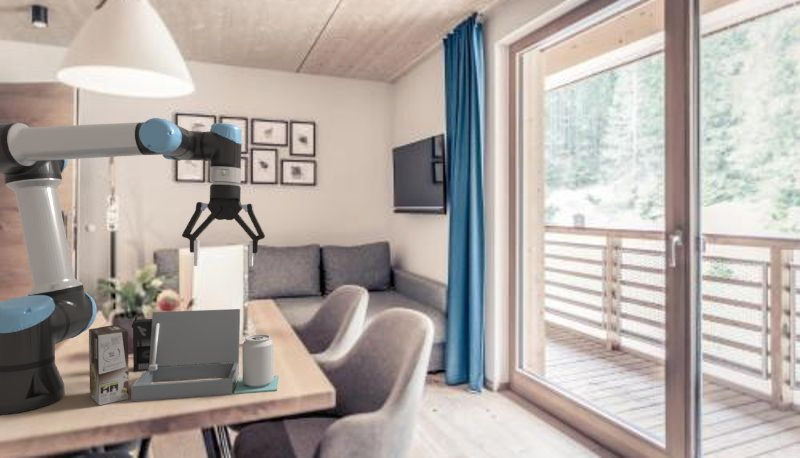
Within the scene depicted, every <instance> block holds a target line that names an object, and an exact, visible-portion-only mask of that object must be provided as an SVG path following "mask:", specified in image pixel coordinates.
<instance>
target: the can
mask: <svg viewBox="0 0 800 458" xmlns="http://www.w3.org/2000/svg"><path fill="white" fill-rule="evenodd" d="M241 348H242V354H241V355H242V378H243V383H244V384H245V385H246V386H248V387H252V388H258V387H264V386H267V385H269V384H270V382H271V381H272V380H273V376H274V341H273V340H272V339H271V335H270V334H263V333H260V334H259V333H258V334H251V335H247V336H246V337H245V338H244V341H243V343H242V347H241Z"/></svg>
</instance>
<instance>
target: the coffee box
mask: <svg viewBox="0 0 800 458" xmlns="http://www.w3.org/2000/svg"><path fill="white" fill-rule="evenodd" d="M88 357H89V360H88V362H89V394H90V397H91V399H93V400H94V401H95V402H96V404H98V406H102V405H107V404H111V403H116V402H120V401H125V400H129V398H130V397H129V396H130V395H129V394H130V393H129V392H130V391H129V390H130V389H129V388H130V387H129V385H130V384H129V383H130V380H129V379H130V378H129V376H130V375H129V330H128V329H126V328H124V327H123V326H120V325H119V324H111V325H106V326H100V327H96V328H88Z"/></svg>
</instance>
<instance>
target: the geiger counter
mask: <svg viewBox="0 0 800 458" xmlns="http://www.w3.org/2000/svg"><path fill="white" fill-rule="evenodd" d="M131 328H132V344H133V345H132V349H133V352H132V357H133V359H132V360H133V361H132V362H133V363H132V364H133V372H134V373H136V372H146V370H147V369H148V368H149V362H150V346H151V331H152V318H144V319H142V318H141V319H140V318H138V314H136V315H135V316H134V320H133V321H132V324H131ZM158 367H159V366H158Z"/></svg>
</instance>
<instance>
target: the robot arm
mask: <svg viewBox="0 0 800 458" xmlns="http://www.w3.org/2000/svg"><path fill="white" fill-rule="evenodd" d="M242 146H243V143H242V130H241V128H240V127H239V126H238V125H236V124H232V123H225V122H224V123H223V122H221V123H217V122H216V123H212V124H211V126H210V129H209V131H197V130H188V129H187V128H184V127H182V126H180V125H177V124H176V123H174V122H173V121H170V120H167V119H165V118H159V117H152V118H149V119H148V120H146V121H143V122H123V123H103V124H102V123H100V124H99V123H97V124H95V123H94V124H78V125H77V124H75V125H55V126H54V125H53V126H32V127H31V126H29V125H27V124H25V123H22V122H16V123H14V122H12V123H0V174H2V175H3V179H4V183H5V186H6V187H7V188H8V189H9V190H12V191H13V192H14V193H15V198H16V204H17V209H18V213H19V219H20V223H21V228H22V233H23V239H24V244H25V247H26V248H25V249H26V253H27V254H26V255H27V258H28V263H29V268H30V274H31V279H32V283H33V287H32V288H31V289H30V290H29V292H28V293H27V295H24V296H20V297H14V298H10V299H6V300H3V301H0V415H7V414H15V413H21V412H27V411H31V410H35V409H36V410H37V409H39V408H43V407H45V406H48V405H51V404H53V403H56V402H57V401H59V400H61V399H62V398H63V397H64V396H65V393H66V391H65V382H64V381H63V379H62V376H61V373H60V371H59V369H58V366H57V365H56V350H55V349H56V348H55V347H56V345H57V344H60V343H62V342H65V341H66V340H69V339H73V338H75V337H78V336H80V335H81V334H82V333H84V332H86V331H87V330H89V329H90V327H91V326H92V325H93V324H94V322H95V319H96V318H97V312H98V310H97V309H98V308H97V303H96V302H95V301H96V300H95V299H94V298H93V297H92V296H91V295H89V293H87V292H85V288H84V284H83V282H82V281H80V280H78V279H76V278H75V275H74V274H75V273H74V270H73V264H72V261H71V260H72V259H71V254H70V249H69V244H68V239H67V234H66V228H65V223H64V220H63V219H64V218H63V214H62V209H61V203H60V198H59V194H58V188H59V186H60V185H62V183H63V178H62V177H63V176H62V174H63V173H64V170H65V168H67V166H68V160H75V159H76V160H77V159H78V160H79V159H98V158H113V157H114V158H115V157H132V156H133V157H134V156H158V155H162V158H163V157H164V159H167V160H174V161H180V162H181V161H203V162H209V163H210V165H209V166H210V169H209V170H210V172H209V182H210V183H212V184H211V185H210V186H209V202H208V203H207V202H201V201H198V202H196V204H195V210H194V212H193V214H192V216H191V217H190V219H189V222H188V223H187V224H186V227H185V229H184V230H183V231H182V233H181V236H182V238H185V239H188V241H189V253H193V267H197V266H200V239H197V238H198V237H199V236H200V235H202V233H204V231H205V230H206V229H208V226H209V225H210V224H211V223H213V222H214V220H218V221H225V220H226V221H232V220H235V222H236V223H238V225H239V226H240V227H241V228H242V230H243V231H244V232H245V233H246V235H248V237H249V238H250V239H251V240H249V243H248V244H249V246H248V247H249V249H248V251H249V252H248V256H249V257H248V267H253V266H254V254H257V253H258V245H259V244H258V243H259V241H260V240H263V239H265V238H266V235H265V233H264V231H263V229H262V227H261V225H260V222H259V220H258V218H257V217H256V215H255V213H254V205H253V204H252V203H247V204H242V203H241V192H242V191H241V186H240V184H241V183H242V164H241V163H242ZM206 209H208V211H209V212H210V214H209V215H208V216H207V217H206V218H205V220H204V221H203V222H202V223H201V224H200V225H199V226H198V227H197V228H196V229H195V230H194V231H193V229H194V227H195V226H196V224H197V222H198V221H199V218H200V217H201V215H202V214H203V212H204V211H206ZM242 210H244V212H245V213H247V214H248V217H249V219H250V221H251V223H252V225H253V227H254V229H255V232H256V233H257V235H256V233H255V232H254V231H253V230H252V229H251V227H250V226H249V225H248V224H247V223H246V222H245V220H244V219H243V218H242V216H240V214H239V213H240V212H241V211H242Z"/></svg>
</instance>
